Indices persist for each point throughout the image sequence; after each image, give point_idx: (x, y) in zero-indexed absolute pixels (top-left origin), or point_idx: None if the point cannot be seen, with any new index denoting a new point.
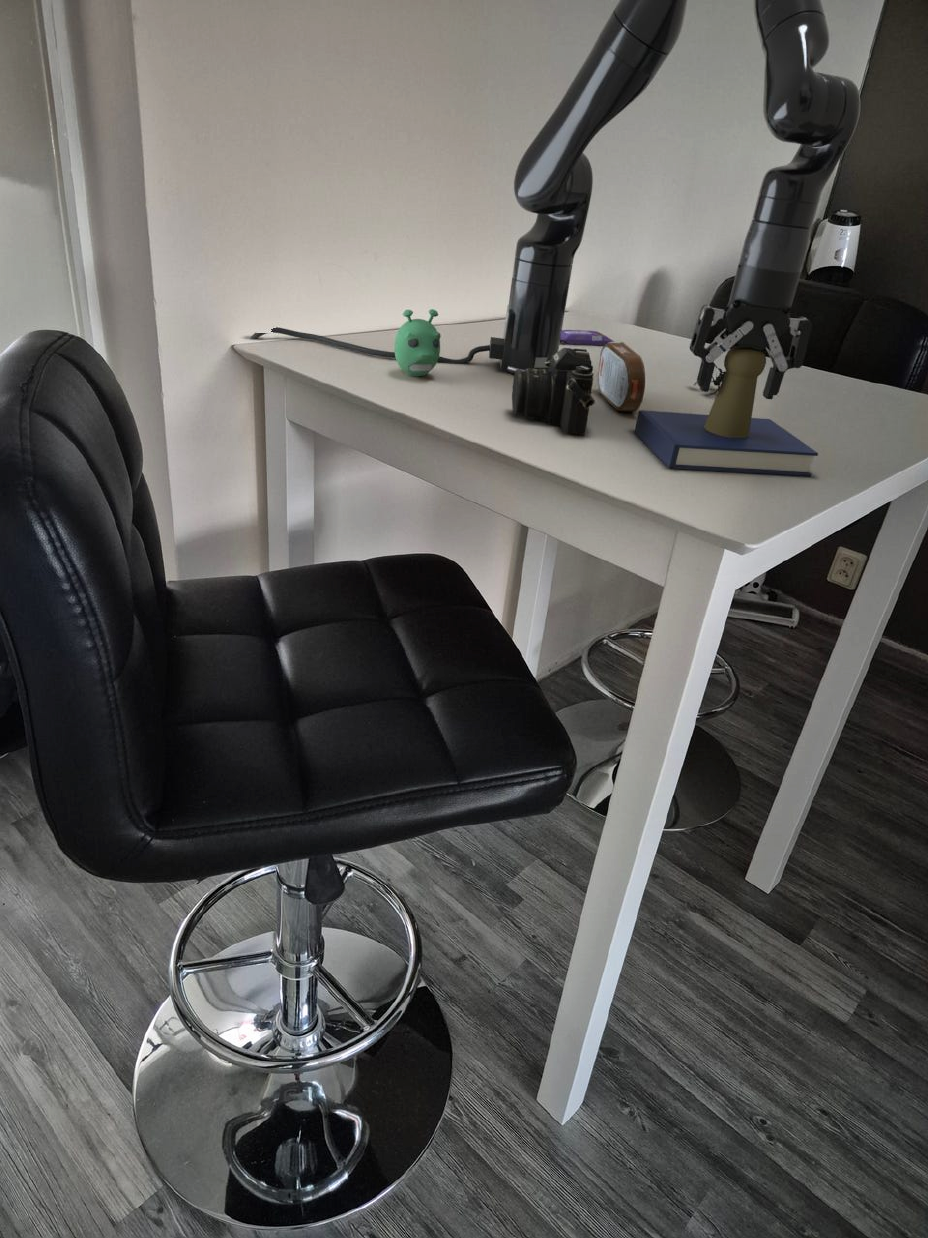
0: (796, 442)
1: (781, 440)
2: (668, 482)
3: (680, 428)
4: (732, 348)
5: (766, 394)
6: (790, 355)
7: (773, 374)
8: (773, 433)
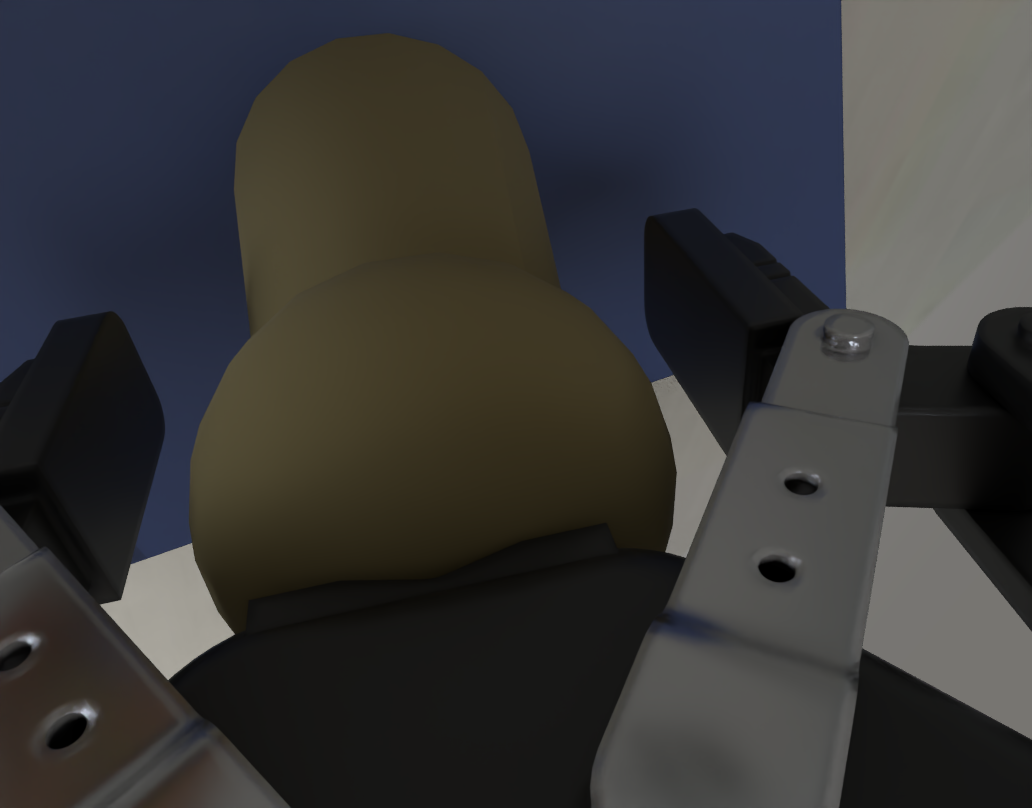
0: (798, 190)
1: (715, 201)
2: (172, 605)
3: (90, 314)
4: (245, 612)
5: (654, 304)
6: (1014, 412)
7: (721, 434)
8: (711, 68)
